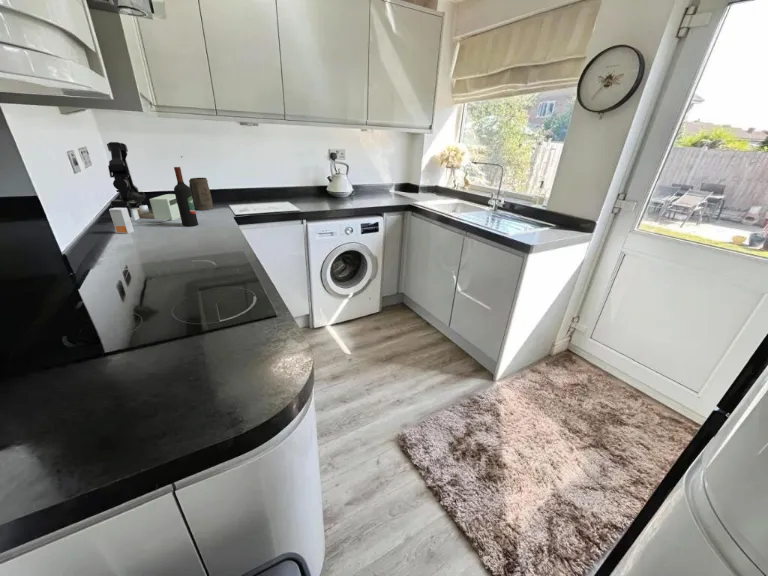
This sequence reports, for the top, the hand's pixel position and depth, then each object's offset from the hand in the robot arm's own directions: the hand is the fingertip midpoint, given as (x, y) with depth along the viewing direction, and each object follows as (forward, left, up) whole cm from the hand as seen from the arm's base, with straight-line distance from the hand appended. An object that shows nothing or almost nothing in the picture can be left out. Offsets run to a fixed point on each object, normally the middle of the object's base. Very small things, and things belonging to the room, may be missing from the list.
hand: (132, 216), depth 182 cm
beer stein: (-36, +21, -3) cm, 42 cm away
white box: (0, 0, -2) cm, 2 cm away
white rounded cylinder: (-12, -1, -2) cm, 13 cm away
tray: (-10, +2, -2) cm, 10 cm away
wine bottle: (+8, +35, -3) cm, 36 cm away
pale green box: (-10, +16, -2) cm, 19 cm away
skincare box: (+24, +11, -3) cm, 27 cm away
